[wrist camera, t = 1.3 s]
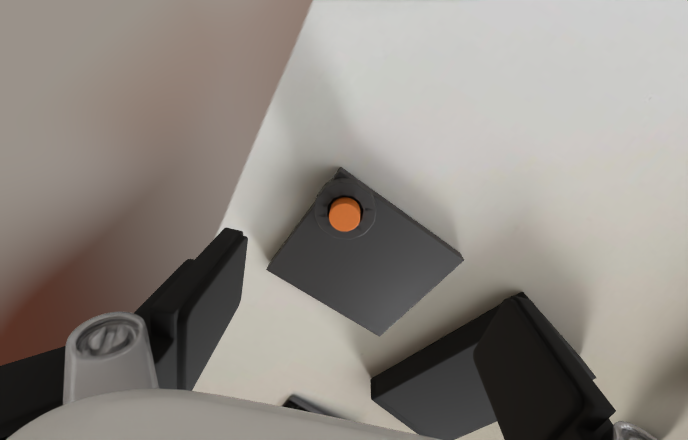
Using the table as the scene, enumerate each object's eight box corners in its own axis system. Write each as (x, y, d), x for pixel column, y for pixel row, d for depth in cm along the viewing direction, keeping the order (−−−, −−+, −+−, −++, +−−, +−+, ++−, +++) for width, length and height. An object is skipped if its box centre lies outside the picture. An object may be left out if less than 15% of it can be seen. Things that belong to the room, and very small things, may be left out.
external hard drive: (580, 357, 38) (597, 378, 35) (432, 426, 46) (436, 448, 43) (522, 290, 34) (535, 309, 31) (370, 378, 42) (370, 399, 39)
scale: (266, 261, 34) (258, 277, 31) (339, 161, 29) (337, 170, 26) (379, 328, 38) (380, 347, 35) (462, 250, 32) (472, 266, 30)
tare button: (324, 213, 28) (322, 220, 27) (341, 191, 27) (340, 197, 26) (348, 229, 29) (347, 237, 27) (366, 208, 28) (366, 215, 26)
